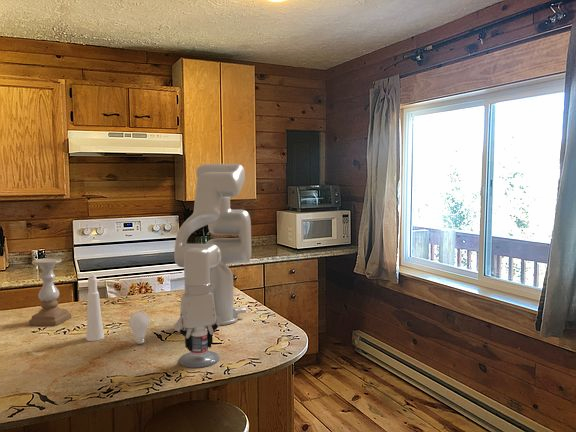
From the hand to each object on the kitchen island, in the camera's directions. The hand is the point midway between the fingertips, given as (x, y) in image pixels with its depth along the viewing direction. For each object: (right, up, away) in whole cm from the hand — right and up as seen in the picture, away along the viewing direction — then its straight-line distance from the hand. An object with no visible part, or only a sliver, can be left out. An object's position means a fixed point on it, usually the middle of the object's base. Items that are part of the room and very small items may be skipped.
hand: (199, 347), depth 147 cm
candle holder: (-64, -1, +39) cm, 75 cm away
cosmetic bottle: (-40, -2, +20) cm, 44 cm away
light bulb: (-22, -3, +14) cm, 26 cm away
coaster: (0, -4, 0) cm, 4 cm away
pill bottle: (0, -2, 0) cm, 2 cm away
